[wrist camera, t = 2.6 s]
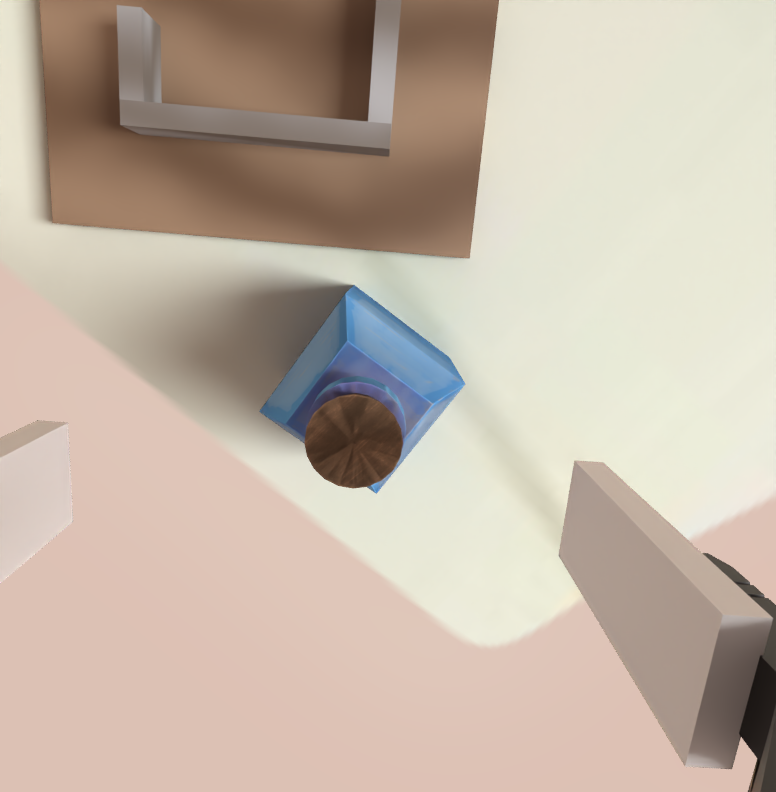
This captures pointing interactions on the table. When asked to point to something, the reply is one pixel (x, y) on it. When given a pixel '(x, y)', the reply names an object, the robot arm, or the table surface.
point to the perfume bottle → (363, 393)
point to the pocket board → (270, 118)
